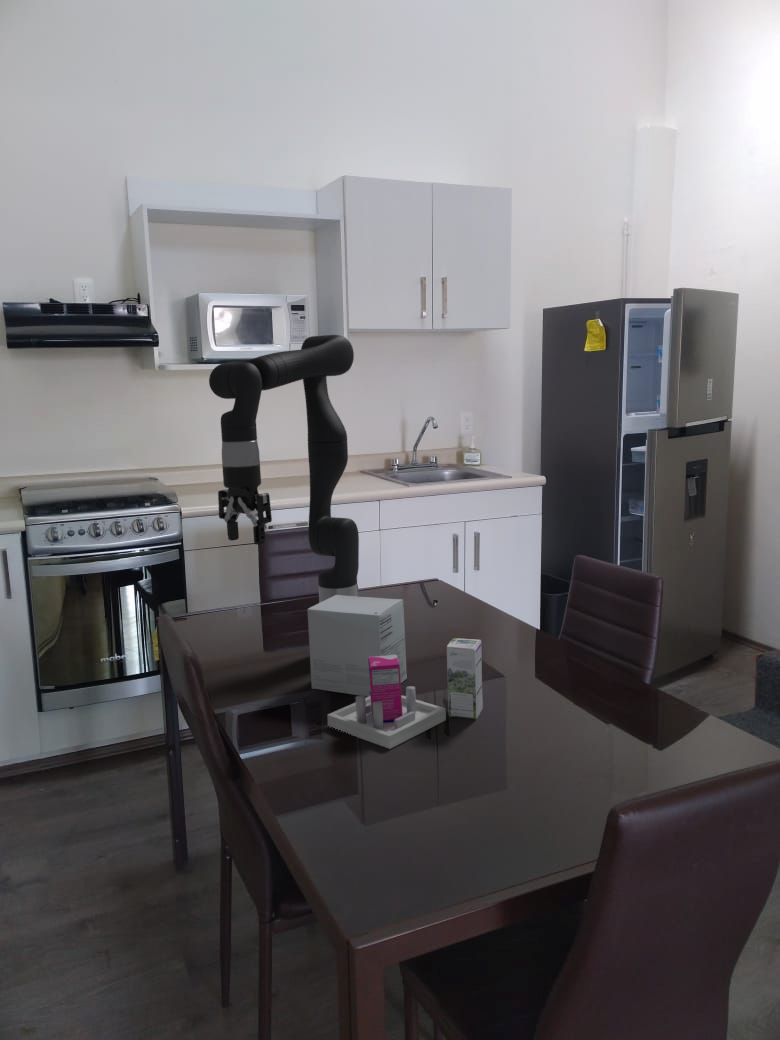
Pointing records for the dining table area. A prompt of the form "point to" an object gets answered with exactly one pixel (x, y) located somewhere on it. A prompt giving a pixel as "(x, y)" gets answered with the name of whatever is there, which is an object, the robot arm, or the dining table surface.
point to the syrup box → (464, 678)
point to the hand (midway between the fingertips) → (246, 541)
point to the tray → (389, 734)
